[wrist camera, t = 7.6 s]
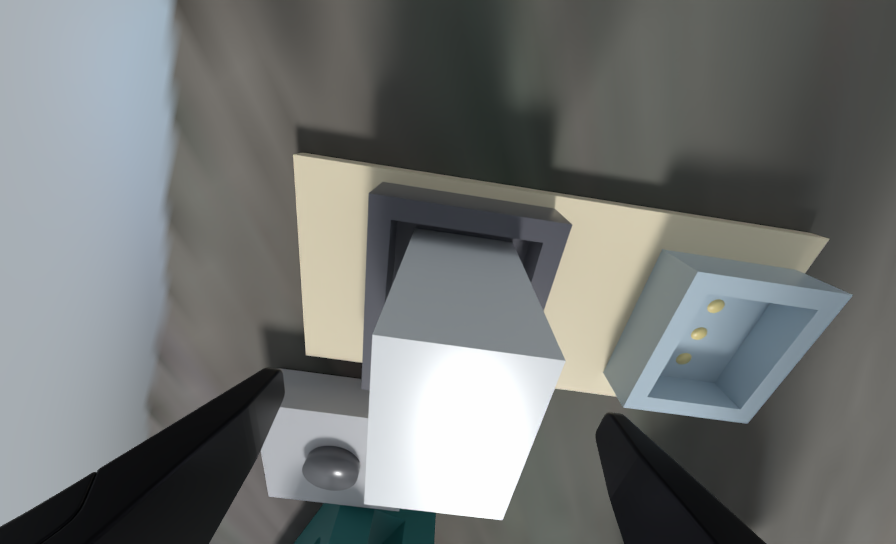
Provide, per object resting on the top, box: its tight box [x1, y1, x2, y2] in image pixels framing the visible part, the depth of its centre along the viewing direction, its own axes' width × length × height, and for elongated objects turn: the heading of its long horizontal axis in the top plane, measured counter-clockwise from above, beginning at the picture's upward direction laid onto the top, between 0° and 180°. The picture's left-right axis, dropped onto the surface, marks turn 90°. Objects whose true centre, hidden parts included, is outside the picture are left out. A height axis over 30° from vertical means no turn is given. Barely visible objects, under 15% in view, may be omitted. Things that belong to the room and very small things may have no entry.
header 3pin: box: [603, 249, 853, 424], centre depth 14 cm, size 6×7×2 cm
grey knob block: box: [261, 368, 400, 511], centre depth 18 cm, size 8×8×3 cm
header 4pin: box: [361, 182, 572, 390], centre depth 14 cm, size 7×9×2 cm
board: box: [293, 153, 829, 397], centre depth 15 cm, size 22×10×1 cm, turn 82°
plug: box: [364, 228, 566, 520], centre depth 11 cm, size 4×7×7 cm, turn 172°
